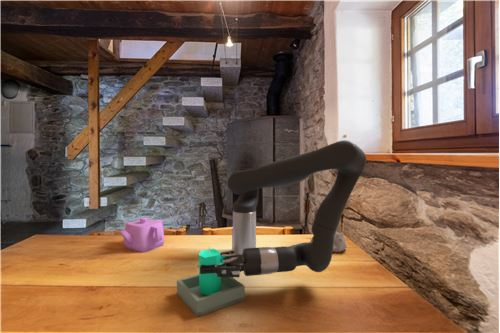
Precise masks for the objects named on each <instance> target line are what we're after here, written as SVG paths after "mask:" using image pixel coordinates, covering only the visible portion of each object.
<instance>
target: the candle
mask: <svg viewBox="0 0 500 333" xmlns="http://www.w3.org/2000/svg"><path fill="white" fill-rule="evenodd" d="M220 253H221V252H220V250H219V249H216V248H210V246H209V248H208V249H203V250H201V251H199V253H198V274H199V291H200V292H201V293H202V294H205V295H211V294H214V293H217V292H219V291H220V290H221V277H217V274H215V273H209V274H200V266H201V265H215V264H218V263H220Z"/></svg>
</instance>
